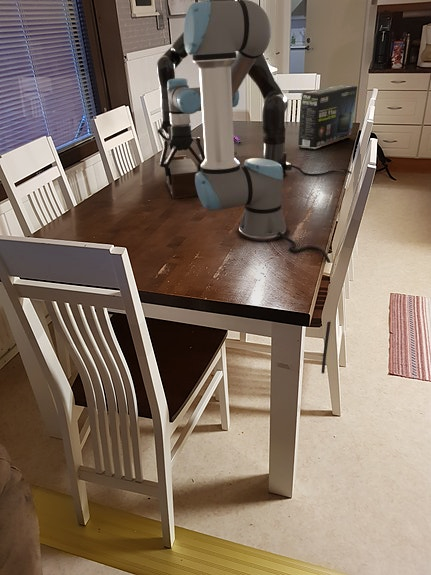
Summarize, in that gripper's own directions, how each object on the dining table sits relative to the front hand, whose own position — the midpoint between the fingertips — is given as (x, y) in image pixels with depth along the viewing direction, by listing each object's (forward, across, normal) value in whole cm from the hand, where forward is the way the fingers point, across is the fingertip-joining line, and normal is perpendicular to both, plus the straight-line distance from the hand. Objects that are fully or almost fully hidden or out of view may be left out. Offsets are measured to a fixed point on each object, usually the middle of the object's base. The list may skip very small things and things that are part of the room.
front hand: (184, 182), depth 181 cm
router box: (+5, -85, -55) cm, 102 cm away
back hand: (-6, 0, -28) cm, 28 cm away
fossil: (+5, -24, -44) cm, 50 cm away
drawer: (+4, 0, -19) cm, 19 cm away
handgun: (+5, -40, -81) cm, 90 cm away
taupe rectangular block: (+5, 0, -6) cm, 8 cm away
